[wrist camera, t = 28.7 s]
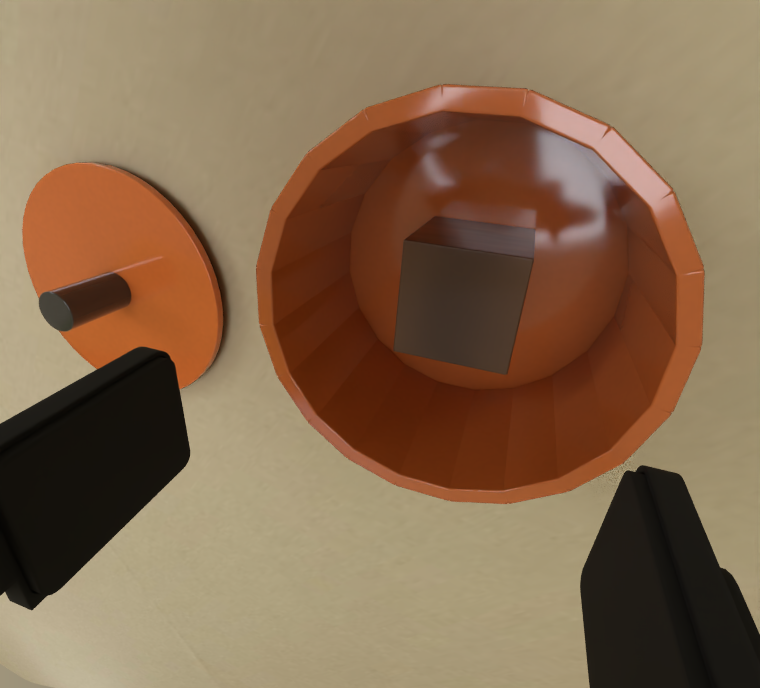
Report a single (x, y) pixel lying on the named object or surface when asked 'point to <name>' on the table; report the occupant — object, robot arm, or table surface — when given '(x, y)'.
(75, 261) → the pan lid
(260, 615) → the table surface
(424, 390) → the pan
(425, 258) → the metal block
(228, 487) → the table surface
